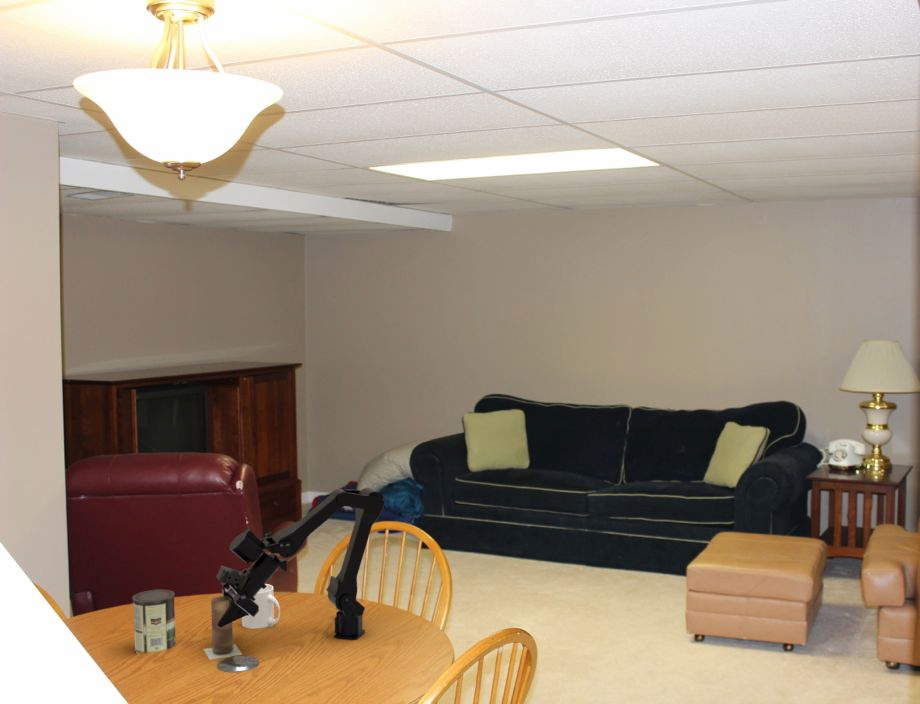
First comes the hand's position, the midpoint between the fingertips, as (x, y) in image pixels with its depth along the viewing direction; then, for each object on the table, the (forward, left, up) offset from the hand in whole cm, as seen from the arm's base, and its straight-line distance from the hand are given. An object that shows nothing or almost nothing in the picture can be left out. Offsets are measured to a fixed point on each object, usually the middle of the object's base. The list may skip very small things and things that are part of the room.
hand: (216, 623), depth 253 cm
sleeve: (-1, -1, -7) cm, 7 cm away
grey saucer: (-9, +6, -8) cm, 14 cm away
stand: (-1, -1, -8) cm, 9 cm away
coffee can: (+18, 0, -9) cm, 20 cm away
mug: (-1, -22, -9) cm, 24 cm away
